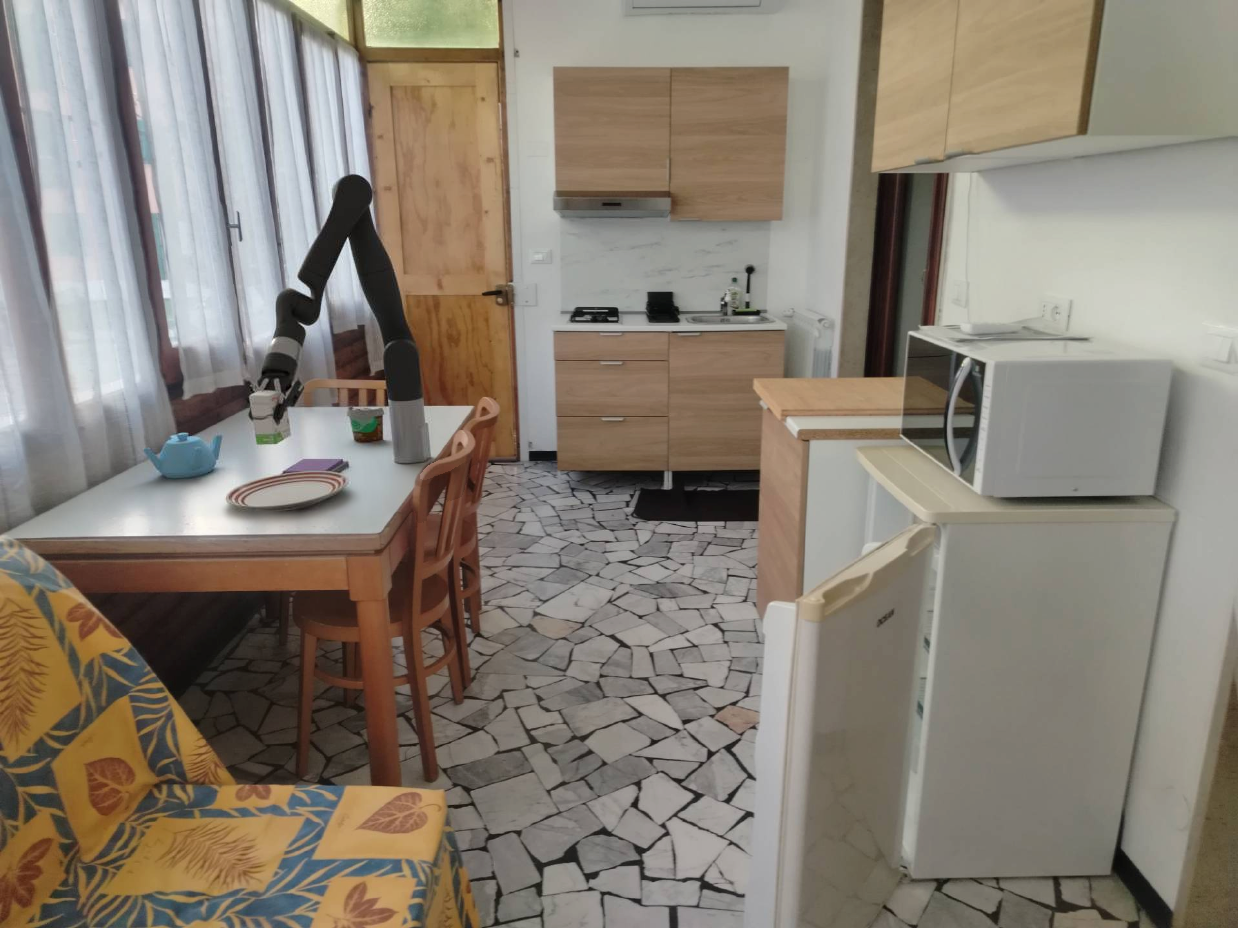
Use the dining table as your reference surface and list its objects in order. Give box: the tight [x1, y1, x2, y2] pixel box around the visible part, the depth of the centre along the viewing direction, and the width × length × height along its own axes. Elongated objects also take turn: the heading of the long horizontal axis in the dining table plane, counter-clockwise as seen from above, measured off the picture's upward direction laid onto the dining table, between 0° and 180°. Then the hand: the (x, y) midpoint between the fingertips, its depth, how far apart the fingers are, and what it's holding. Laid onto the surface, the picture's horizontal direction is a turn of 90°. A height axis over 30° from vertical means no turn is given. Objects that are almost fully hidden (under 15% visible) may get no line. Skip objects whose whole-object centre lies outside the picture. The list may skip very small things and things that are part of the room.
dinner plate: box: [225, 471, 349, 512], centre depth 199 cm, size 27×27×3 cm
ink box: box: [249, 390, 292, 446], centre depth 196 cm, size 9×5×12 cm, turn 177°
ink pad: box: [280, 458, 350, 474], centre depth 220 cm, size 13×14×2 cm
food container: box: [346, 405, 385, 444], centre depth 251 cm, size 12×6×10 cm, turn 68°
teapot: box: [142, 432, 223, 479], centre depth 222 cm, size 15×15×11 cm
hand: (264, 419), depth 193 cm, fingers closed on ink box, 5 cm apart
